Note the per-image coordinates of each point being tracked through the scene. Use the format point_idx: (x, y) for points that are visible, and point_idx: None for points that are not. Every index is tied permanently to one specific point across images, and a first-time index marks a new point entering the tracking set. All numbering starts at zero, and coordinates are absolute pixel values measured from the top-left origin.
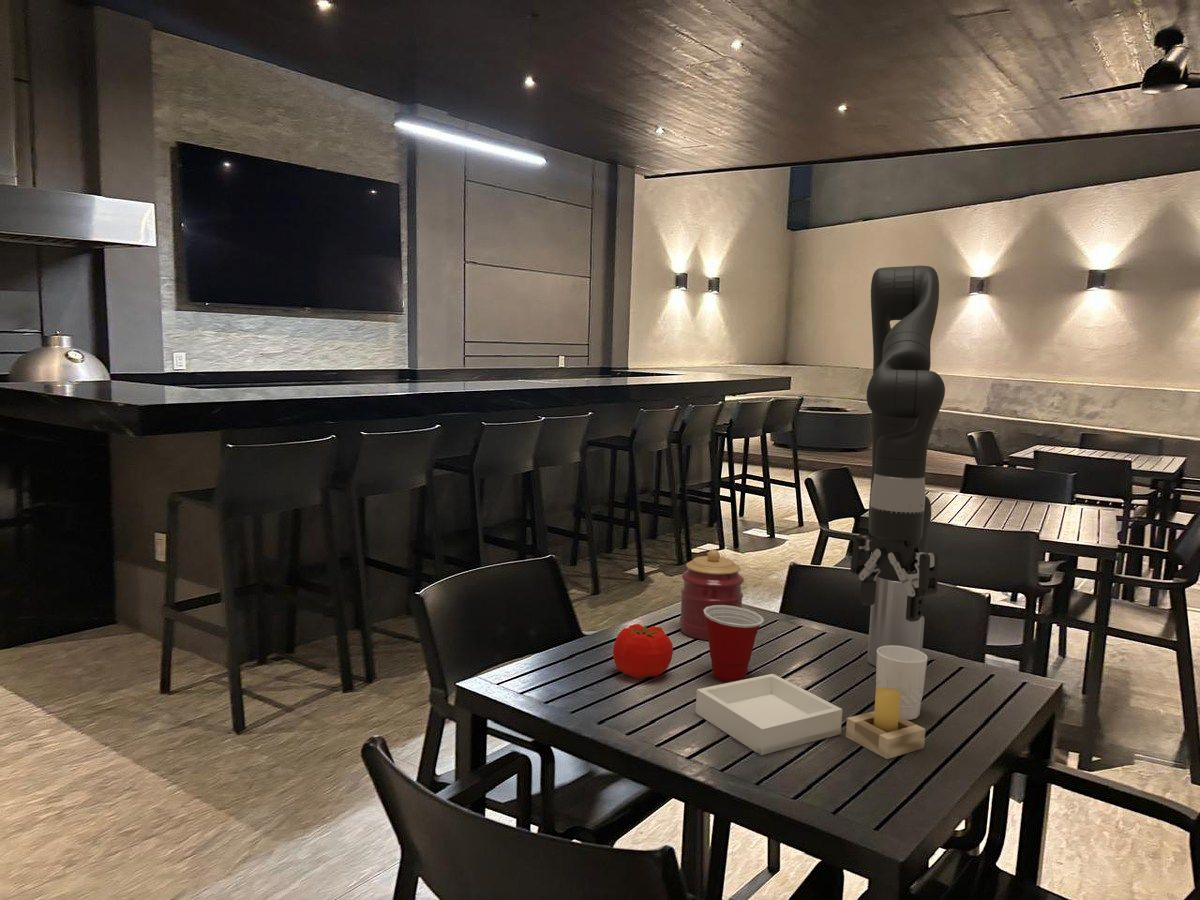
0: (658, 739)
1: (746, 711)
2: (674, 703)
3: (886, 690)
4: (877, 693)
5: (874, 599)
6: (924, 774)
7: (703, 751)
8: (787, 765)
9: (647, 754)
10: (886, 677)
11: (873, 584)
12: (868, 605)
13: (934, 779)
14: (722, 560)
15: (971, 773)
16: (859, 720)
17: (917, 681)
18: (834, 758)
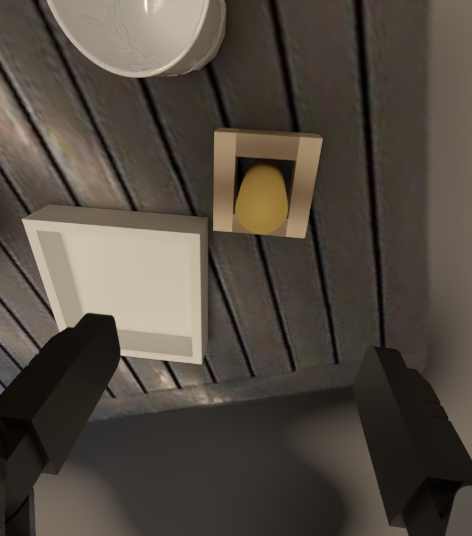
0: (133, 385)
1: (108, 293)
2: (50, 327)
3: (254, 206)
4: (251, 230)
5: (101, 331)
6: (364, 215)
7: (173, 371)
8: (240, 332)
9: (158, 405)
10: (161, 76)
11: (51, 415)
12: (117, 339)
13: (382, 216)
14: None
15: (420, 143)
16: (230, 219)
17: (219, 5)
18: (257, 280)
